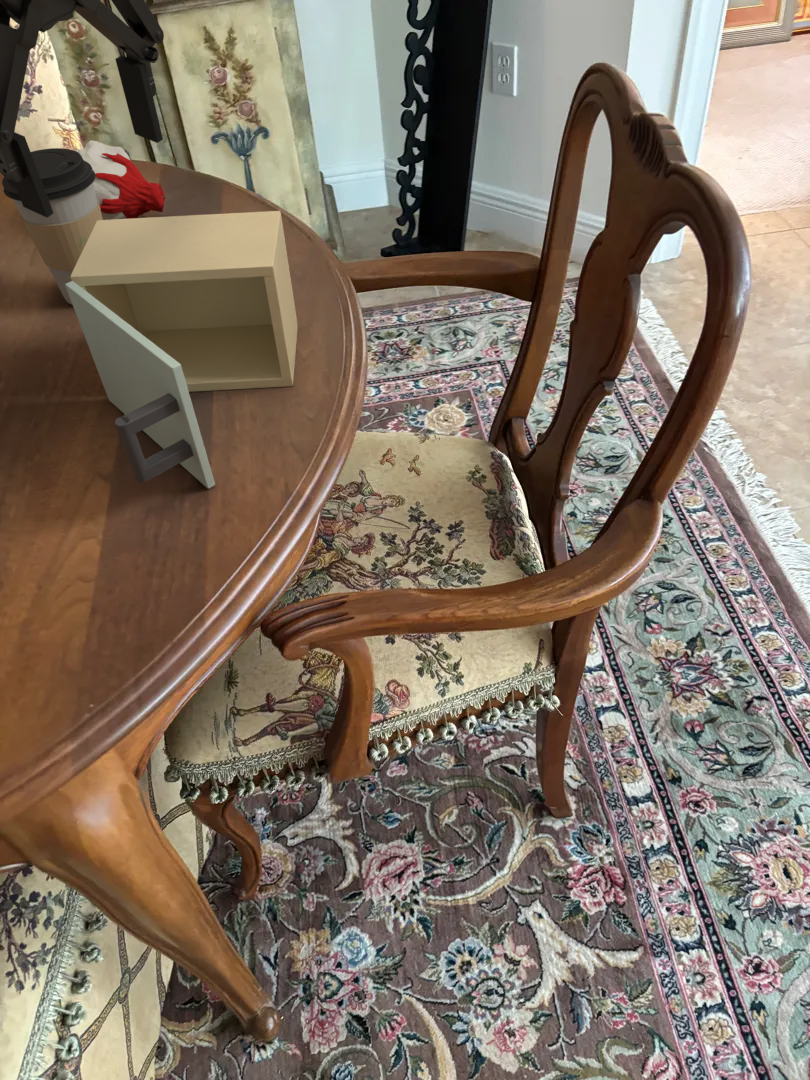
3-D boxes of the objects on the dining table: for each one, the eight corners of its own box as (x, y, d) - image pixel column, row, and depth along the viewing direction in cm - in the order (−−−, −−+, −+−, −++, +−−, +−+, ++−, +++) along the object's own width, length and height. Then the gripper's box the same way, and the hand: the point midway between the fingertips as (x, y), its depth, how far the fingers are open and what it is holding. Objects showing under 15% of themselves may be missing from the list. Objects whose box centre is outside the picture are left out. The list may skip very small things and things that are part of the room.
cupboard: (293, 386, 79) (273, 265, 69) (114, 396, 79) (69, 276, 69) (297, 326, 86) (280, 210, 77) (134, 335, 86) (96, 219, 77)
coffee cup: (127, 309, 90) (84, 176, 79) (43, 319, 89) (-13, 186, 78) (133, 269, 96) (93, 141, 85) (54, 278, 95) (4, 149, 84)
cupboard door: (157, 518, 67) (111, 397, 57) (61, 423, 76) (8, 305, 66) (215, 485, 69) (181, 364, 60) (116, 397, 78) (72, 280, 69)
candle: (84, 195, 110) (187, 213, 109) (46, 232, 102) (156, 252, 102) (70, 127, 103) (180, 146, 102) (27, 161, 96) (146, 182, 95)
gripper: (-124, -61, 44) (19, 261, 62) (170, -174, 56) (220, 121, 74) (-210, -91, 46) (-48, 229, 64) (92, -195, 58) (158, 98, 76)
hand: (96, 172), depth 69 cm, fingers open, 13 cm apart
